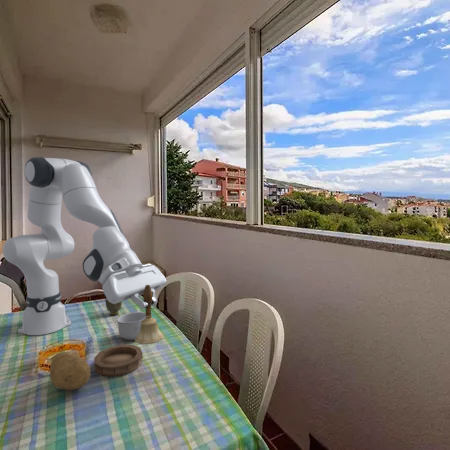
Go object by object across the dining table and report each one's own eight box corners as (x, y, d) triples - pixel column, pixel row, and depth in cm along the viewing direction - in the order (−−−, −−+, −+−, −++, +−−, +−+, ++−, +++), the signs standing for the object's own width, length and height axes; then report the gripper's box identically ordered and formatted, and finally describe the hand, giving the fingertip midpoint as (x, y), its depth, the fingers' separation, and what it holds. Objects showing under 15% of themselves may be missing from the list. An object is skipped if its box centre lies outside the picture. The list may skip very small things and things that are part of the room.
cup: (119, 317, 134) (118, 299, 134) (103, 317, 134) (102, 299, 134) (125, 311, 142) (124, 294, 141) (109, 311, 142) (109, 294, 141)
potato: (63, 406, 75) (62, 375, 74) (42, 385, 84) (41, 357, 83) (100, 388, 82) (99, 359, 82) (78, 370, 91) (76, 344, 91)
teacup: (139, 344, 108) (138, 322, 107) (112, 342, 110) (111, 320, 110) (155, 328, 122) (155, 309, 121) (131, 326, 124) (130, 307, 123)
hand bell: (129, 339, 88) (127, 286, 87) (152, 330, 95) (151, 280, 94) (145, 347, 83) (143, 291, 82) (169, 337, 89) (168, 284, 88)
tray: (93, 359, 98) (93, 350, 97) (138, 349, 104) (137, 341, 103) (95, 382, 85) (95, 371, 85) (145, 369, 91) (145, 360, 91)
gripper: (147, 268, 103) (169, 301, 98) (93, 281, 85) (116, 322, 81) (156, 256, 100) (179, 290, 95) (102, 268, 83) (127, 310, 78)
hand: (150, 305), depth 88 cm, fingers closed on hand bell, 2 cm apart
